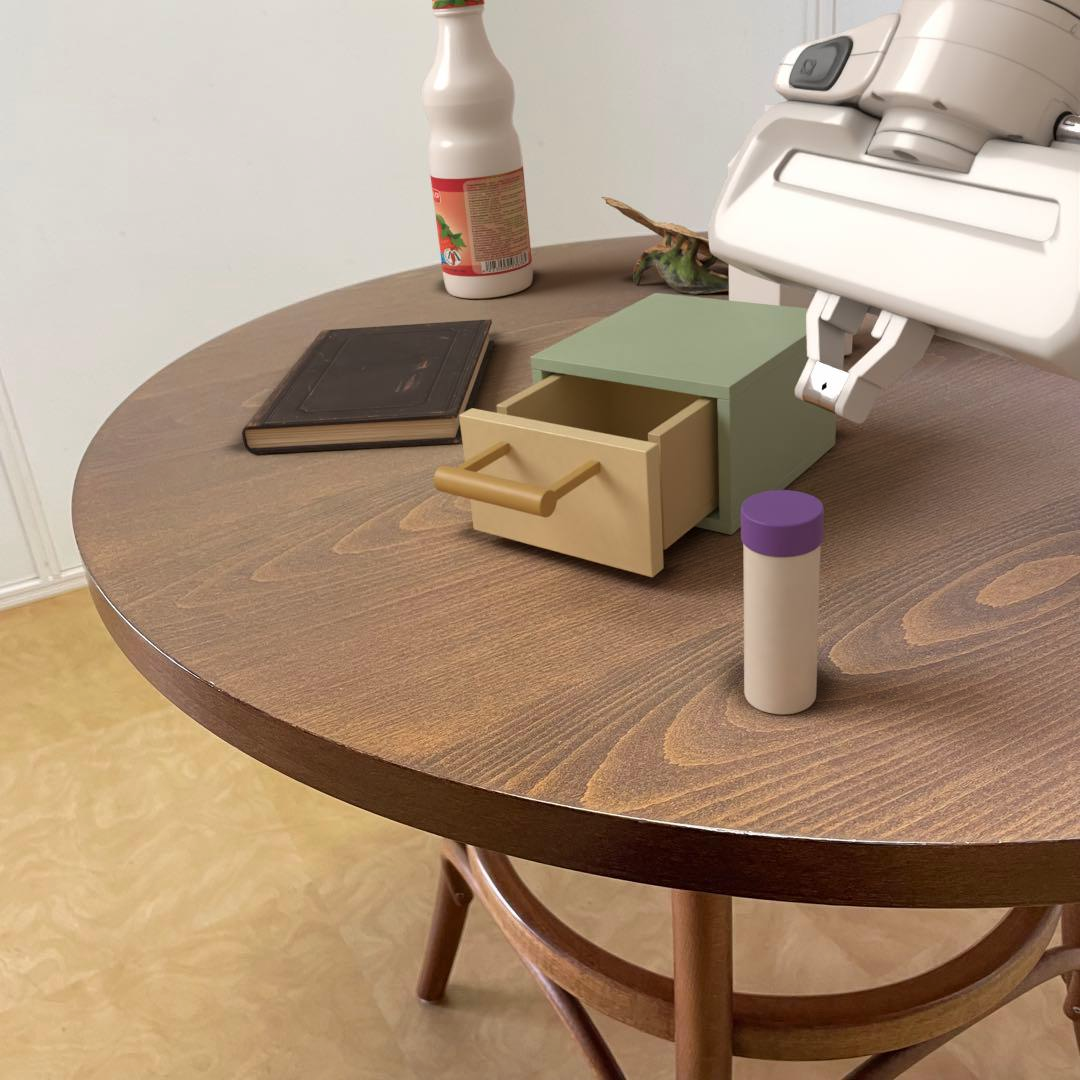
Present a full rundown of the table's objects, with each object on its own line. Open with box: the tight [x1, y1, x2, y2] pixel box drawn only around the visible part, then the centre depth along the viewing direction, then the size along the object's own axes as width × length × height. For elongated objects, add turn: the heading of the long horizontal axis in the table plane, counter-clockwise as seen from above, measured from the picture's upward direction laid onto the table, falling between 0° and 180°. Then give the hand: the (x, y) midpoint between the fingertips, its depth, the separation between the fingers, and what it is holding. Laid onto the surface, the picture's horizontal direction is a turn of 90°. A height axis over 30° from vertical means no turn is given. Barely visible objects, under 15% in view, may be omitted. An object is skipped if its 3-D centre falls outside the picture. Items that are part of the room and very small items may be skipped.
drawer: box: [433, 373, 719, 578], centre depth 64 cm, size 19×12×7 cm, turn 143°
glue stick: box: [740, 489, 825, 716], centre depth 49 cm, size 3×3×10 cm
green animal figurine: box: [601, 196, 729, 296], centre depth 112 cm, size 18×14×8 cm
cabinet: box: [529, 292, 837, 536], centre depth 72 cm, size 15×14×9 cm
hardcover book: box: [241, 318, 495, 455], centre depth 92 cm, size 16×23×2 cm
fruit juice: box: [421, 0, 534, 300], centre depth 112 cm, size 9×9×28 cm
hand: (826, 411), depth 49 cm, fingers closed
